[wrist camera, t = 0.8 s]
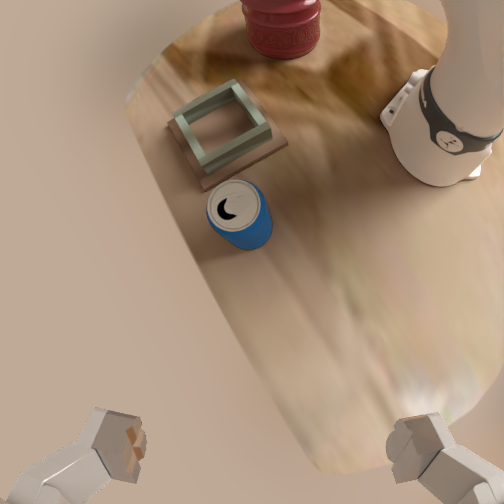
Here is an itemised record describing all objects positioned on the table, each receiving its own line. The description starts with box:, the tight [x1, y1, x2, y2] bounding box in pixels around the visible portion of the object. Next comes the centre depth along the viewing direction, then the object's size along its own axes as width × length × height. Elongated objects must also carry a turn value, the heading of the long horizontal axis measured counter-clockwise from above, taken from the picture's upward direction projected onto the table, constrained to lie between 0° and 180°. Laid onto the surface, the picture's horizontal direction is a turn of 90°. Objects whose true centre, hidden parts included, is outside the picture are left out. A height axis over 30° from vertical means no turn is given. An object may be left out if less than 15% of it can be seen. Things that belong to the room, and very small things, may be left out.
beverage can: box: [207, 179, 272, 250], centre depth 39 cm, size 6×6×12 cm
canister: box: [240, 0, 321, 59], centre depth 40 cm, size 13×13×18 cm
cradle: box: [167, 79, 288, 192], centre depth 45 cm, size 14×14×4 cm
